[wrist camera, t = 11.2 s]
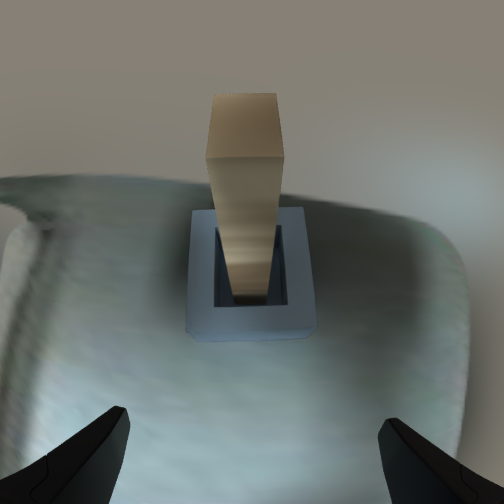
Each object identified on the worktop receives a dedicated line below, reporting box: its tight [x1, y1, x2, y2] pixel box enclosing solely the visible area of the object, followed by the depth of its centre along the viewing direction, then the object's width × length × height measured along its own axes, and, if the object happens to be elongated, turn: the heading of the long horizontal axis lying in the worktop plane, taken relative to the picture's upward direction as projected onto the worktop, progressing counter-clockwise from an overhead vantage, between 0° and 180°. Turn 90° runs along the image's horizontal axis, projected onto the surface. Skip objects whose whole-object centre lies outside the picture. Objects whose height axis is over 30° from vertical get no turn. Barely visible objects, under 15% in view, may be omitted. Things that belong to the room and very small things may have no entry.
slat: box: [206, 93, 284, 304], centre depth 14 cm, size 3×2×13 cm, turn 1°
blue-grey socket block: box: [186, 207, 318, 342], centre depth 19 cm, size 8×7×4 cm
